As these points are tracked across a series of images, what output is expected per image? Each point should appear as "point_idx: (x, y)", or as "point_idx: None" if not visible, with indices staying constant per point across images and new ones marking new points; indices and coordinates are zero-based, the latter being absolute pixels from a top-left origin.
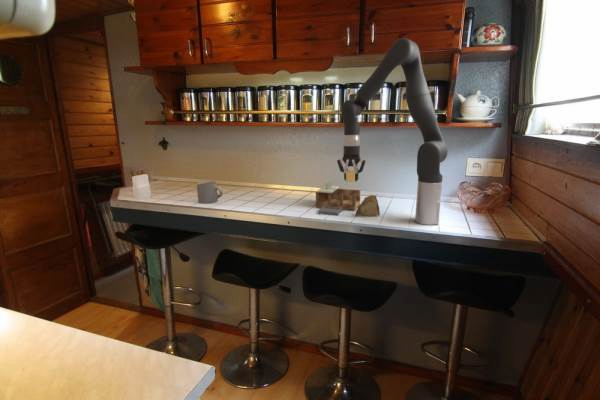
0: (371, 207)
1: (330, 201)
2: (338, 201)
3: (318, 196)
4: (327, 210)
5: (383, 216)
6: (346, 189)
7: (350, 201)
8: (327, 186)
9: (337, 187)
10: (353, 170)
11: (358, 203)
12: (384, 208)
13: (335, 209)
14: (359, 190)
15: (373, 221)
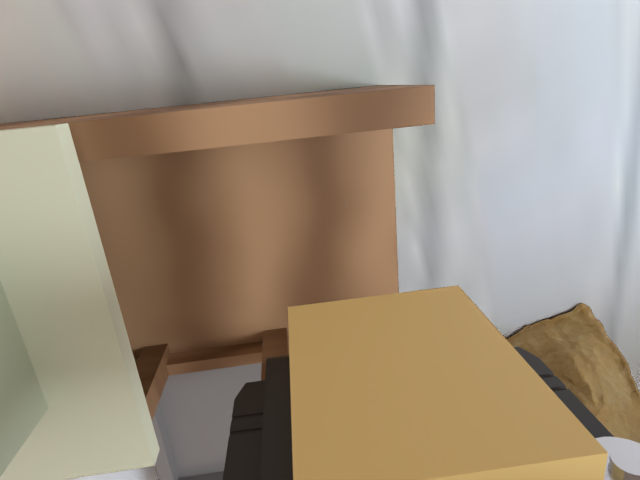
0: None
1: (163, 367)
2: (184, 218)
3: None
4: (204, 425)
5: (613, 341)
6: (221, 139)
7: (301, 160)
8: (19, 443)
9: (79, 201)
10: (499, 471)
11: (391, 169)
12: (619, 118)
13: (248, 375)
14: (426, 121)
15: None
